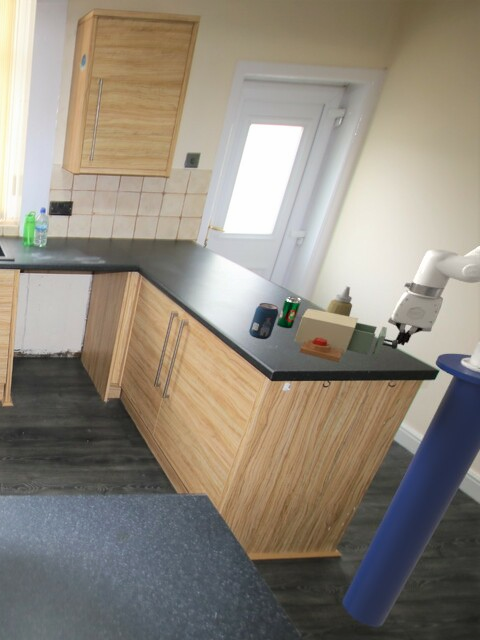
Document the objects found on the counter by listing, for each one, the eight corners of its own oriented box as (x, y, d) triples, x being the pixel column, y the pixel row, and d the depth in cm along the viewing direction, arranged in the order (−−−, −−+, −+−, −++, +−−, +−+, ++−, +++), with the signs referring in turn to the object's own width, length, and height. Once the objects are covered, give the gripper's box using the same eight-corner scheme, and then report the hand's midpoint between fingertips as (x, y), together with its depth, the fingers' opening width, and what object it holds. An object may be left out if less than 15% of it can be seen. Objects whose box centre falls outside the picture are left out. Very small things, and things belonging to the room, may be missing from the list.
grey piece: (392, 351, 161) (401, 330, 158) (391, 362, 153) (401, 340, 149) (330, 337, 171) (338, 317, 168) (326, 346, 163) (334, 325, 160)
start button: (326, 344, 159) (328, 339, 158) (325, 347, 157) (326, 342, 156) (313, 341, 161) (315, 336, 161) (312, 344, 159) (313, 339, 158)
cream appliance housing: (348, 343, 169) (358, 318, 165) (344, 354, 160) (354, 327, 156) (299, 332, 177) (308, 308, 174) (294, 342, 169) (302, 316, 165)
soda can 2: (278, 323, 185) (288, 295, 180) (293, 327, 182) (303, 298, 177) (274, 327, 182) (284, 298, 177) (289, 331, 179) (299, 301, 173)
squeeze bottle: (317, 332, 178) (334, 287, 170) (317, 325, 184) (334, 281, 176) (343, 338, 174) (362, 292, 166) (342, 331, 180) (361, 286, 172)
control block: (340, 355, 159) (344, 345, 158) (338, 362, 154) (342, 352, 152) (302, 345, 166) (305, 336, 164) (298, 352, 160) (302, 342, 159)
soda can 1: (257, 331, 176) (267, 301, 171) (274, 339, 171) (284, 308, 165) (243, 333, 174) (253, 303, 169) (259, 341, 168) (270, 310, 163)
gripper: (394, 286, 148) (371, 339, 156) (459, 298, 140) (431, 354, 147) (395, 282, 154) (372, 333, 161) (457, 293, 145) (430, 347, 153)
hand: (400, 343), depth 154 cm, fingers closed
